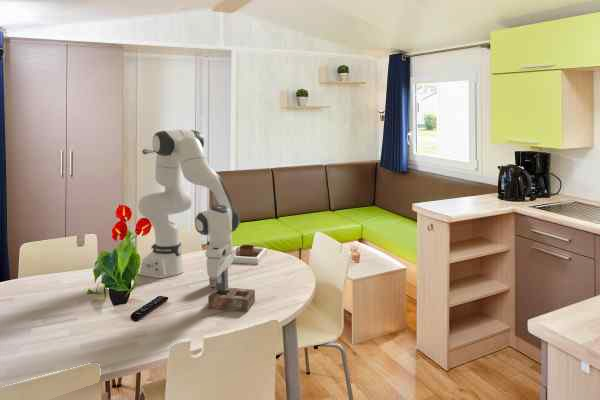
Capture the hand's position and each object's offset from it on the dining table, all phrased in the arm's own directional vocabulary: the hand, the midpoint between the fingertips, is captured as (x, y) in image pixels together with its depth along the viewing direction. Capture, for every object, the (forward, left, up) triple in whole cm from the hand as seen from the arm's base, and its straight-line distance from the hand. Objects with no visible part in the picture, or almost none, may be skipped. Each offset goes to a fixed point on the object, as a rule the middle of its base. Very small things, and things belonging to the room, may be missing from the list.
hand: (222, 280), depth 177 cm
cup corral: (-8, +58, -10) cm, 59 cm away
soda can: (-9, +18, -10) cm, 23 cm away
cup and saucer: (-8, +58, -10) cm, 59 cm away
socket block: (+4, 0, -10) cm, 11 cm away
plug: (0, 0, -4) cm, 4 cm away
